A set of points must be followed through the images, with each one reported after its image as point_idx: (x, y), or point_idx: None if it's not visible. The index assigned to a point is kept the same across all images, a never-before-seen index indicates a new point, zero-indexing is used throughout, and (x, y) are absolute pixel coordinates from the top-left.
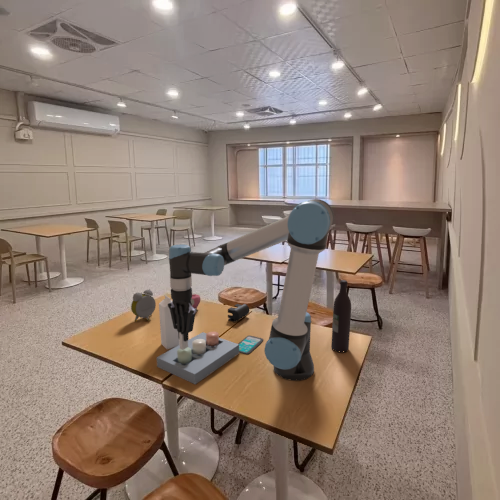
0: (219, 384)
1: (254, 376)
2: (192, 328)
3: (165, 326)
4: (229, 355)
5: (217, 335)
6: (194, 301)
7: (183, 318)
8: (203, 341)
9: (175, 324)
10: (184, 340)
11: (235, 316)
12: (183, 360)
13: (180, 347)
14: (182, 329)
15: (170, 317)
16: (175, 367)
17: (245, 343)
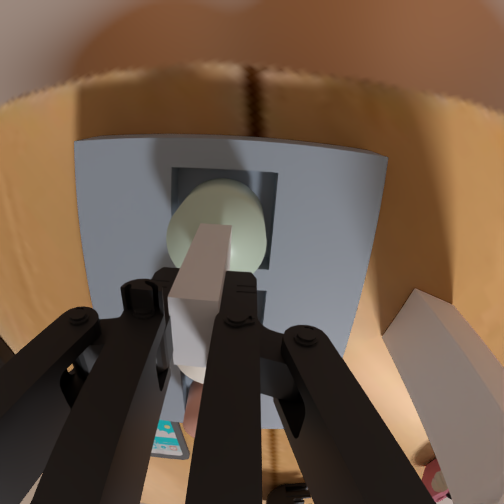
0: (36, 196)
1: (6, 295)
2: (67, 382)
3: (470, 362)
4: None
5: (186, 428)
6: (431, 488)
7: (51, 481)
8: (197, 372)
9: (299, 377)
10: (175, 271)
11: (279, 500)
12: (194, 189)
13: (223, 229)
14: (145, 335)
15: (468, 421)
16: (221, 137)
17: (158, 430)
